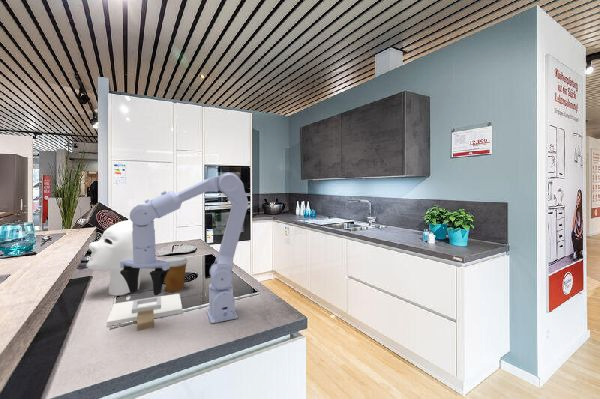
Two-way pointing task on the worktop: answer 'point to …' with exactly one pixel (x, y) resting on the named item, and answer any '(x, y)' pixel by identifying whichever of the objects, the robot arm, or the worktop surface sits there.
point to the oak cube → (145, 319)
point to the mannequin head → (114, 255)
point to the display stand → (145, 308)
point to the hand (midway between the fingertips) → (145, 293)
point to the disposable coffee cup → (175, 273)
